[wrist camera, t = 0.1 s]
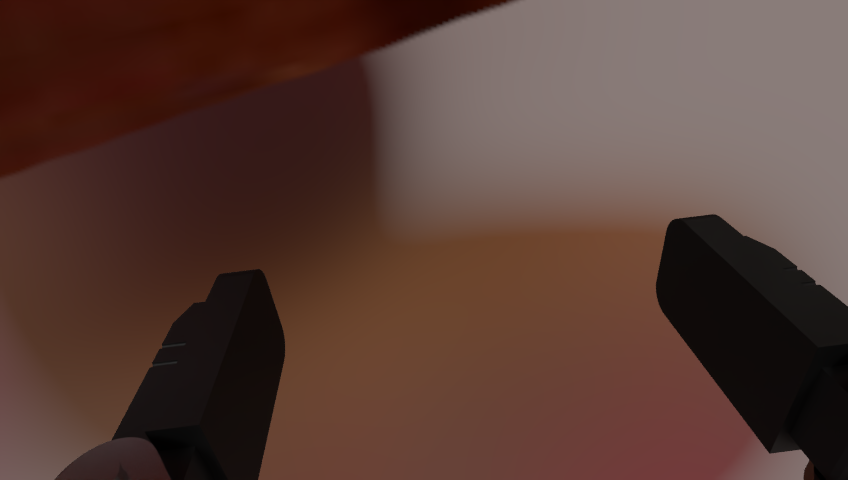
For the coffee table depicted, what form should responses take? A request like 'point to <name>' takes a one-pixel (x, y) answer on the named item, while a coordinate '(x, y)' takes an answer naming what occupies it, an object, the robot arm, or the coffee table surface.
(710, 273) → the robot arm
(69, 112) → the coffee table surface
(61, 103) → the coffee table surface
